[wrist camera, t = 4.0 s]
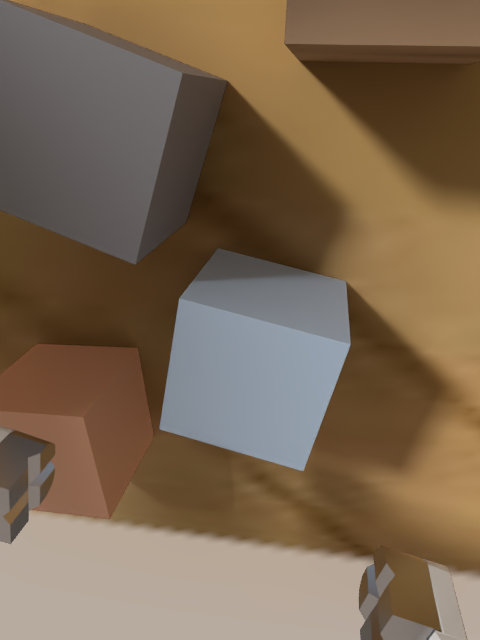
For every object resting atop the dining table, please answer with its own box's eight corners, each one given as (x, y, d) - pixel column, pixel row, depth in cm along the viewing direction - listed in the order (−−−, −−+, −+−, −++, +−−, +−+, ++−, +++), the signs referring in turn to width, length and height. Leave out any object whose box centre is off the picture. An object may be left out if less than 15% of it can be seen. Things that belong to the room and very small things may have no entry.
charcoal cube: (86, 24, 15) (-19, -8, 10) (228, 81, 15) (182, 73, 10) (65, 172, 17) (-29, 198, 13) (186, 222, 17) (135, 264, 13)
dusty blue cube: (218, 247, 17) (179, 298, 13) (345, 280, 17) (350, 344, 12) (198, 355, 20) (159, 429, 15) (310, 385, 19) (303, 471, 15)
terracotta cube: (38, 342, 21) (-41, 407, 16) (138, 346, 20) (83, 417, 16) (62, 428, 23) (-2, 505, 19) (154, 435, 22) (109, 519, 18)
